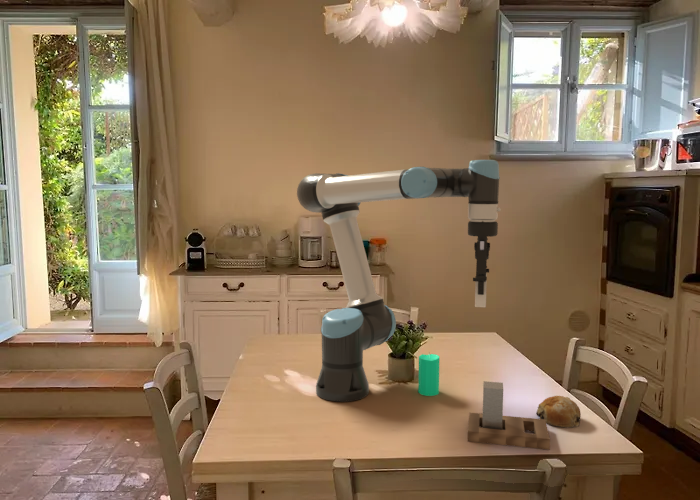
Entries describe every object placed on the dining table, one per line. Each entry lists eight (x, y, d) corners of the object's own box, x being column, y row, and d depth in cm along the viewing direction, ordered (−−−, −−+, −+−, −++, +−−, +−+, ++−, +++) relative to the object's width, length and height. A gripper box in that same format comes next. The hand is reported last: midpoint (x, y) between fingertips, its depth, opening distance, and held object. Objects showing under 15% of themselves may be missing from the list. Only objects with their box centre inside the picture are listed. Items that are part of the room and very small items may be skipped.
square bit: (482, 436, 133) (483, 387, 132) (482, 428, 137) (483, 381, 136) (501, 438, 132) (503, 389, 131) (501, 430, 136) (502, 382, 135)
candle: (441, 390, 163) (442, 349, 162) (435, 397, 158) (436, 355, 157) (421, 387, 166) (422, 347, 164) (415, 393, 160) (415, 352, 159)
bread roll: (567, 444, 137) (583, 419, 134) (529, 419, 141) (544, 393, 139) (574, 429, 145) (590, 405, 143) (538, 406, 150) (553, 382, 147)
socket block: (467, 441, 131) (467, 430, 130) (469, 422, 141) (469, 412, 141) (549, 449, 126) (549, 439, 126) (544, 429, 137) (545, 419, 137)
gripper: (498, 223, 132) (496, 312, 135) (497, 218, 156) (495, 293, 159) (466, 223, 134) (464, 310, 136) (469, 217, 158) (467, 292, 160)
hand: (480, 301), depth 148 cm, fingers open, 13 cm apart
